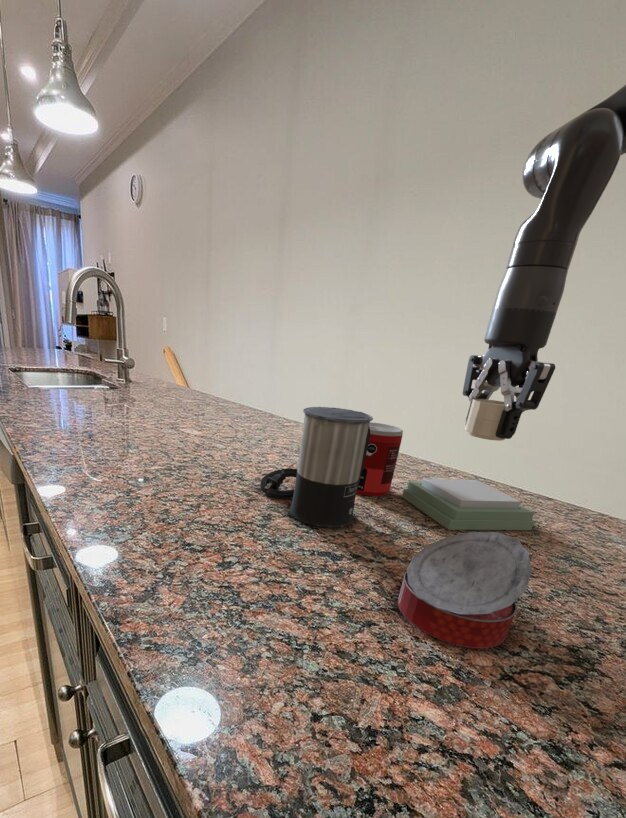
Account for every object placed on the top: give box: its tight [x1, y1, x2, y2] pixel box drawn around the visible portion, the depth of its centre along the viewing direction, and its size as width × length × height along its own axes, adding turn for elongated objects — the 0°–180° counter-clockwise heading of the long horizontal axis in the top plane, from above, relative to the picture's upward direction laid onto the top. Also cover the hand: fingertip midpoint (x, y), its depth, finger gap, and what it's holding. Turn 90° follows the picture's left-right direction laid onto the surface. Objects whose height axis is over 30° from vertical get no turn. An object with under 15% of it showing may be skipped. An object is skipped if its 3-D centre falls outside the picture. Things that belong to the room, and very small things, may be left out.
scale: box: [401, 480, 535, 531], centre depth 70 cm, size 14×13×3 cm
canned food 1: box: [356, 421, 404, 497], centre depth 75 cm, size 8×8×11 cm
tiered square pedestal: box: [421, 477, 521, 509], centre depth 69 cm, size 10×10×2 cm
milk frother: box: [259, 406, 374, 529], centre depth 64 cm, size 14×16×15 cm
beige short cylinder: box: [464, 399, 506, 442], centre depth 65 cm, size 6×6×5 cm
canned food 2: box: [397, 531, 533, 649], centre depth 42 cm, size 11×10×10 cm
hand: (486, 432), depth 66 cm, fingers closed on beige short cylinder, 6 cm apart
